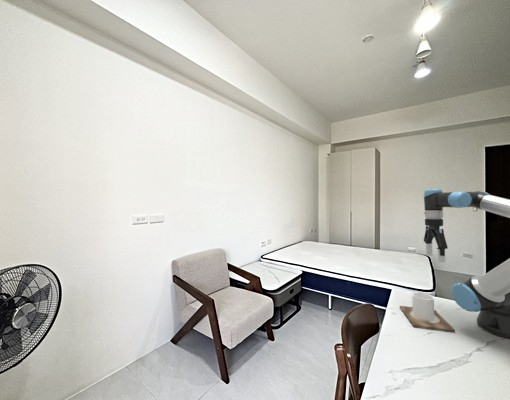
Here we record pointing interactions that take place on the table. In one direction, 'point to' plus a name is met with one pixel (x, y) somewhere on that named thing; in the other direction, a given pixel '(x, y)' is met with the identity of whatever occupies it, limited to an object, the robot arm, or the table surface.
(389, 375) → the table surface
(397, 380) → the table surface
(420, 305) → the mug
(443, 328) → the board
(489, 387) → the table surface
